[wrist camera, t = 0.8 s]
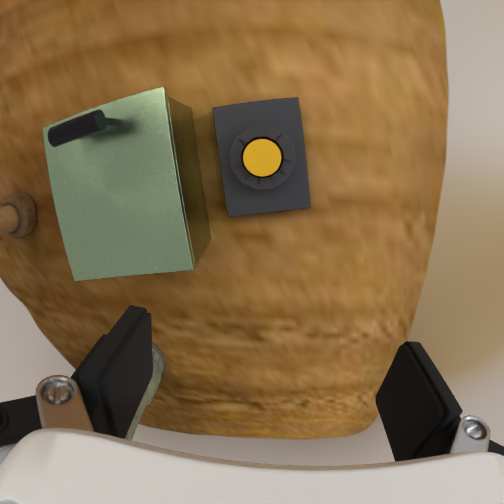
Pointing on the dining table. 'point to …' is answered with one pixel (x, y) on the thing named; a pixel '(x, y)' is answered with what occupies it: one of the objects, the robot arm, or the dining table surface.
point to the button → (262, 157)
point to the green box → (189, 176)
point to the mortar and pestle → (17, 215)
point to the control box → (273, 129)
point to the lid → (119, 189)
